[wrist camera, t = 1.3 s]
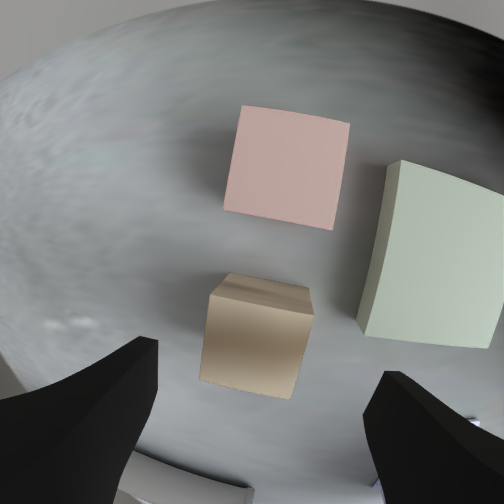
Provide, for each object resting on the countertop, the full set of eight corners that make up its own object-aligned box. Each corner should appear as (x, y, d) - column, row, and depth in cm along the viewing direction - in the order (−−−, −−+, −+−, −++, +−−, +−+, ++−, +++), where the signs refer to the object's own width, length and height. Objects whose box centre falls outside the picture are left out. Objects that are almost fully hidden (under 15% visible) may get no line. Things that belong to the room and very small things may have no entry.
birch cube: (291, 357, 19) (290, 399, 15) (219, 342, 20) (198, 379, 15) (308, 287, 19) (314, 315, 14) (230, 272, 19) (209, 294, 14)
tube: (26, 436, 21) (235, 535, 19) (7, 413, 19) (245, 530, 16) (47, 406, 26) (247, 493, 23) (33, 381, 23) (258, 481, 21)
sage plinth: (468, 332, 18) (487, 348, 15) (354, 317, 19) (364, 335, 16) (498, 203, 16) (522, 204, 13) (385, 166, 17) (401, 159, 14)
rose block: (321, 224, 18) (332, 230, 13) (241, 209, 18) (222, 210, 14) (335, 145, 17) (350, 123, 12) (255, 130, 18) (242, 105, 13)
